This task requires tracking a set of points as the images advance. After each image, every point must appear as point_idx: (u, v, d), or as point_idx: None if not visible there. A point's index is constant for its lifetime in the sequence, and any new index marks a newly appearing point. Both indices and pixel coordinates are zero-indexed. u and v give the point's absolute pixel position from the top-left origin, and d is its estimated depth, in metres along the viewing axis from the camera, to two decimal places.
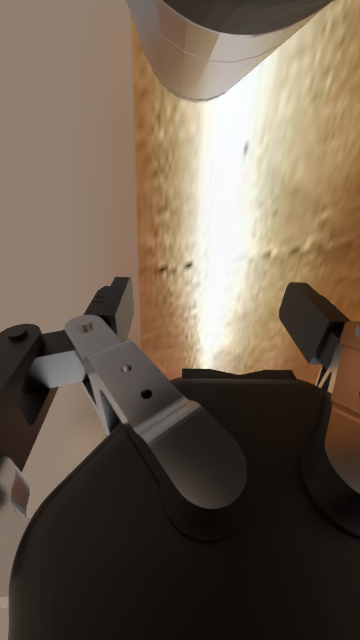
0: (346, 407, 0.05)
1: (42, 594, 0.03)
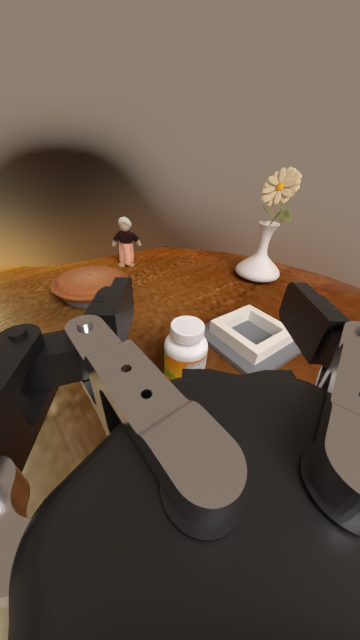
0: (346, 407, 0.05)
1: (42, 594, 0.03)
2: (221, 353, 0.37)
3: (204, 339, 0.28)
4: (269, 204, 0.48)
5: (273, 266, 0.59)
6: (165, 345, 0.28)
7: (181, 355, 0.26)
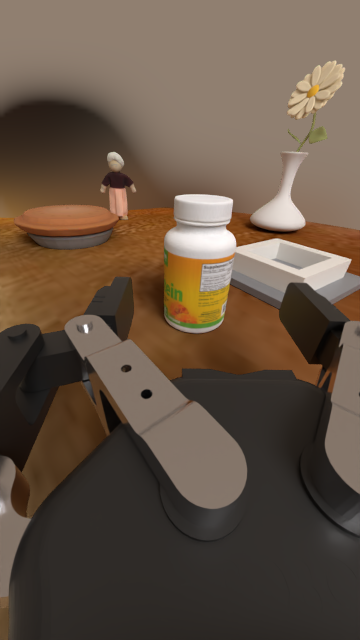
0: (346, 407, 0.05)
1: (42, 595, 0.03)
2: (246, 287, 0.26)
3: (229, 232, 0.17)
4: (299, 116, 0.38)
5: (298, 211, 0.48)
6: (166, 239, 0.17)
7: (194, 245, 0.15)
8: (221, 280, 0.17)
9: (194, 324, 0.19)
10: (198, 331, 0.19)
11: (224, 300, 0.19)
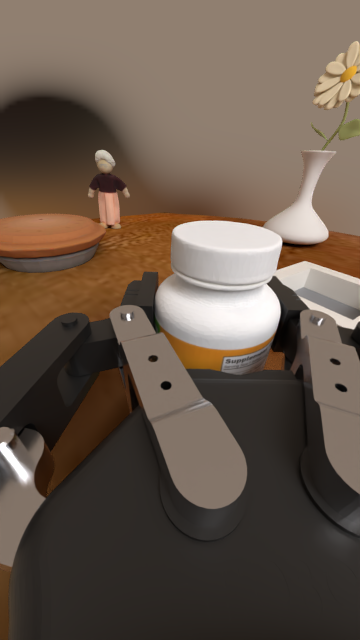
0: (329, 403, 0.05)
1: (36, 580, 0.03)
2: None
3: (268, 287, 0.10)
4: (329, 106, 0.30)
5: (320, 221, 0.40)
6: (156, 302, 0.10)
7: (209, 326, 0.08)
8: None
9: None
10: None
11: None
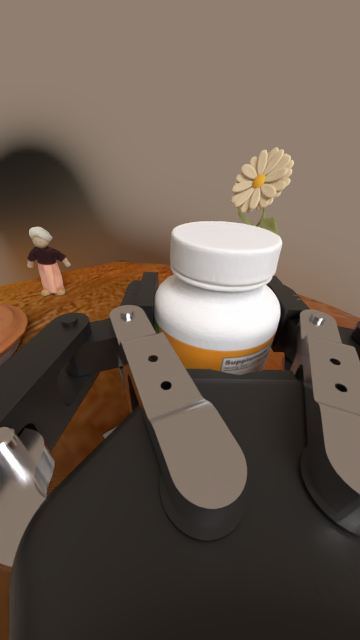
0: (329, 403, 0.05)
1: (36, 580, 0.03)
2: None
3: (268, 288, 0.10)
4: (243, 209, 0.30)
5: None
6: (156, 303, 0.09)
7: (209, 327, 0.08)
8: None
9: None
10: None
11: None
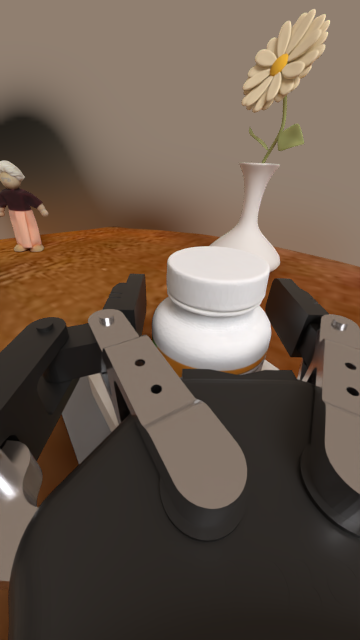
0: (337, 405, 0.05)
1: (38, 588, 0.03)
2: None
3: (259, 308, 0.11)
4: (257, 107, 0.23)
5: (268, 246, 0.33)
6: (154, 324, 0.10)
7: (202, 349, 0.08)
8: None
9: None
10: None
11: None
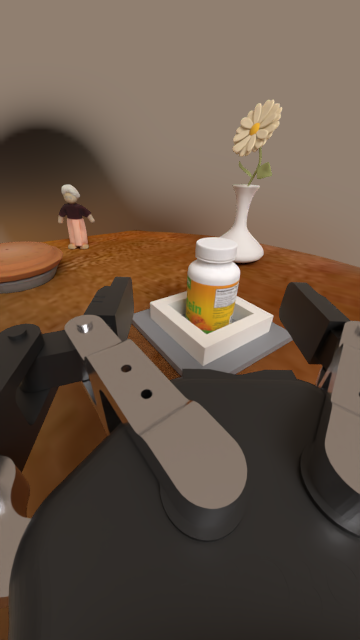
0: (346, 407, 0.05)
1: (42, 594, 0.03)
2: (158, 348, 0.25)
3: (235, 264, 0.24)
4: (242, 153, 0.37)
5: (254, 242, 0.47)
6: (189, 270, 0.24)
7: (210, 276, 0.22)
8: (229, 299, 0.24)
9: (209, 331, 0.25)
10: None
11: (231, 313, 0.25)
